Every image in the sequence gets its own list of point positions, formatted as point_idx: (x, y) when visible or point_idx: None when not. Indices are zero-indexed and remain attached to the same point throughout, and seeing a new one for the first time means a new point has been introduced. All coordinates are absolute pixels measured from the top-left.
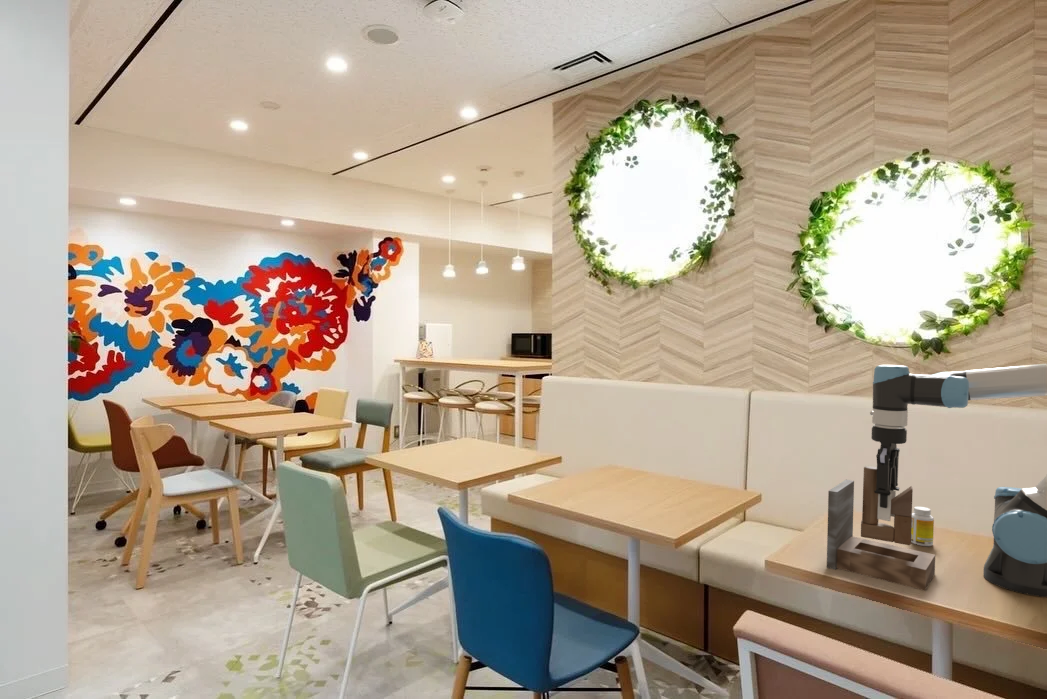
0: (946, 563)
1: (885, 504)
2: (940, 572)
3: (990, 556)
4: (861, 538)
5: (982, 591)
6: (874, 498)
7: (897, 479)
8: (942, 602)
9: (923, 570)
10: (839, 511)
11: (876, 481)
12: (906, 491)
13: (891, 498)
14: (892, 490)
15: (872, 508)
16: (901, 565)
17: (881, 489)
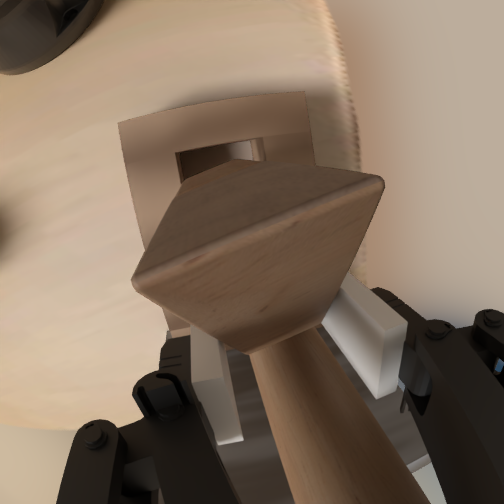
0: (26, 153)
1: (395, 301)
2: (102, 127)
3: (28, 30)
4: (172, 335)
5: (161, 19)
6: (352, 387)
7: (72, 476)
8: (321, 60)
9: (304, 98)
10: (366, 402)
11: (407, 475)
12: (310, 261)
13: (221, 352)
14: (202, 402)
15: (330, 352)
16: (313, 156)
17: (498, 358)
